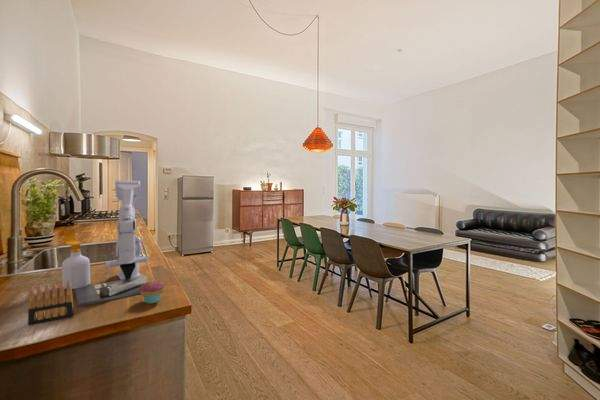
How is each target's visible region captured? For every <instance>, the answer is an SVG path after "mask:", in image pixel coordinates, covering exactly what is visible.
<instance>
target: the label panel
mask: <svg viewBox="0 0 600 400" xmlns="http://www.w3.org/2000/svg"><path fill="white" fill-rule="evenodd" d="M123 280H126V279H123ZM123 280H121V279H119V280H114V281H113V280H112V281H107V282H103V283H96V284H91V285H87V286H85V287H80V288H75V289H74V294H75V297H76V302H77V306H78V308H81V307H85V306H90V305H94V304H95V305H96V304H99V303H103V302H109V301H112V300H119V299H122V298H126V297H131V296H135V295H141V294H140V292H139V288H140V287H141V286H142V285H144V284H145V283H143V284H140V285H137V286H135V287H132V288H129V289H127V290H124V291H121V292H118V293H116V294H113V295H111V296H108V297H103V298H102V297H100V292H99V288H100V287H103V286H109V285H112V284H114V283H117V282H120V281H123Z"/></svg>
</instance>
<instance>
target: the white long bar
mask: <svg viewBox="0 0 600 400" xmlns="http://www.w3.org/2000/svg"><path fill="white" fill-rule="evenodd" d="M147 282H148V280H147V275H144V274H140V275H138V276H135V277H132V278H129V279H126V280H123V281H120V282H117V283H114V284H112V285H109V286H103V287H100V288H99V292H100V297H102V298H103V297H108V296H111V295H113V294H116V293H118V292H121V291H124V290H127V289H129V288H132V287H135V286H137V285H140V284H143V283H144V284H145V283H147Z"/></svg>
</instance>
